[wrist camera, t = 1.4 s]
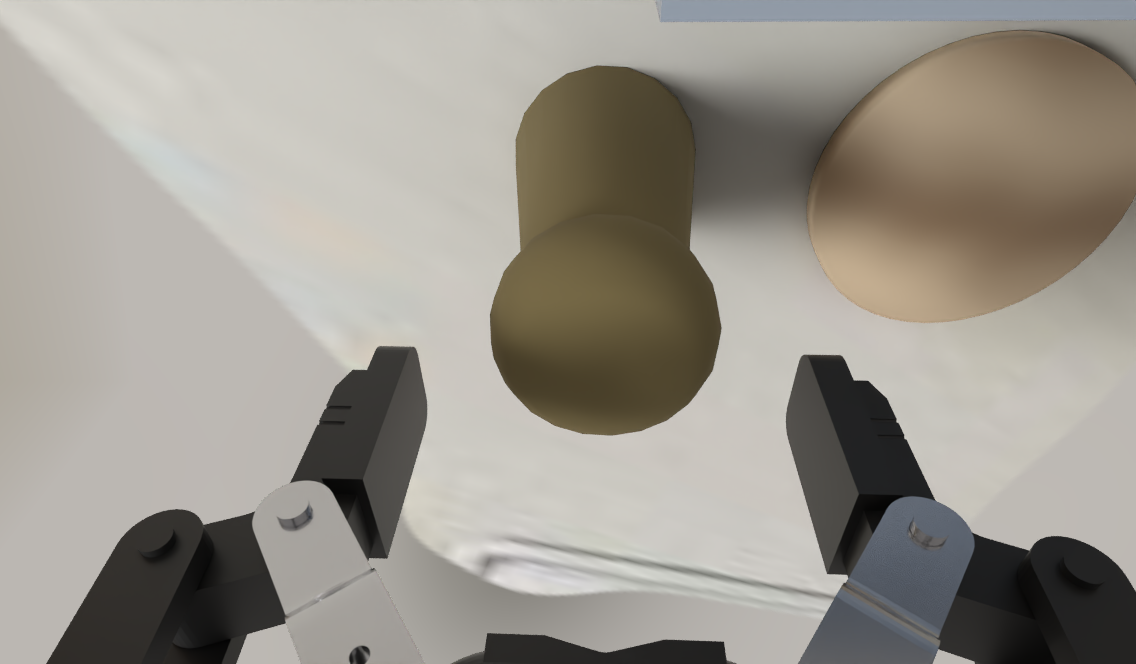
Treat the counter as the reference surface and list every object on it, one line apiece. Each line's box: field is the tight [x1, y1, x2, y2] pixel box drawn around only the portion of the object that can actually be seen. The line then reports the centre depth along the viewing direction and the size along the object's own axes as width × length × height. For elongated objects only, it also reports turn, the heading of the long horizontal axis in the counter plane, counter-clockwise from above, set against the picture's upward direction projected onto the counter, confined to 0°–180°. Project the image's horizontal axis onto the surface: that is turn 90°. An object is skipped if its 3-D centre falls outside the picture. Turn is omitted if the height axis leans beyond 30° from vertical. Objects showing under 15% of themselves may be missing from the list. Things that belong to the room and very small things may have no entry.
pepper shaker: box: [490, 66, 721, 435], centre depth 18 cm, size 6×6×11 cm
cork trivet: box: [807, 30, 1136, 323], centre depth 22 cm, size 10×10×1 cm
